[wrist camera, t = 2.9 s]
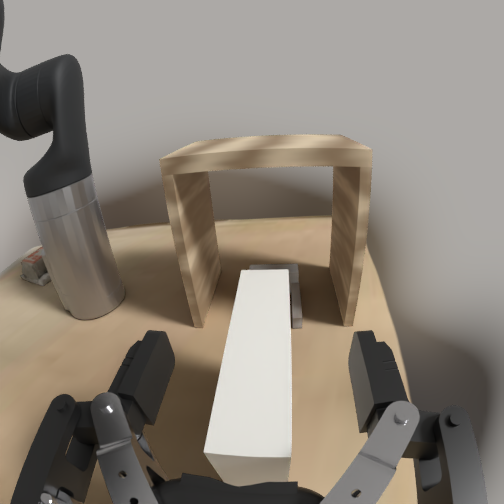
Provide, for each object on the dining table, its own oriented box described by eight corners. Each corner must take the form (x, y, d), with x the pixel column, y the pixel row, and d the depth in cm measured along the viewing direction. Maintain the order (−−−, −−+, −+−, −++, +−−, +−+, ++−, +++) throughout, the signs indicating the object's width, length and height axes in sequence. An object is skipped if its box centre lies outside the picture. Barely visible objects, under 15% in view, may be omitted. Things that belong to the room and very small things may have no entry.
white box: (240, 504, 14) (203, 452, 8) (254, 380, 24) (241, 270, 18) (283, 505, 13) (291, 456, 8) (287, 381, 24) (288, 269, 18)
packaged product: (34, 265, 38) (13, 260, 41) (44, 288, 40) (22, 281, 43) (96, 222, 53) (70, 222, 56) (102, 242, 55) (76, 240, 58)
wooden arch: (194, 327, 31) (159, 159, 22) (214, 270, 41) (196, 141, 33) (352, 325, 29) (372, 149, 20) (336, 268, 40) (341, 134, 31)
